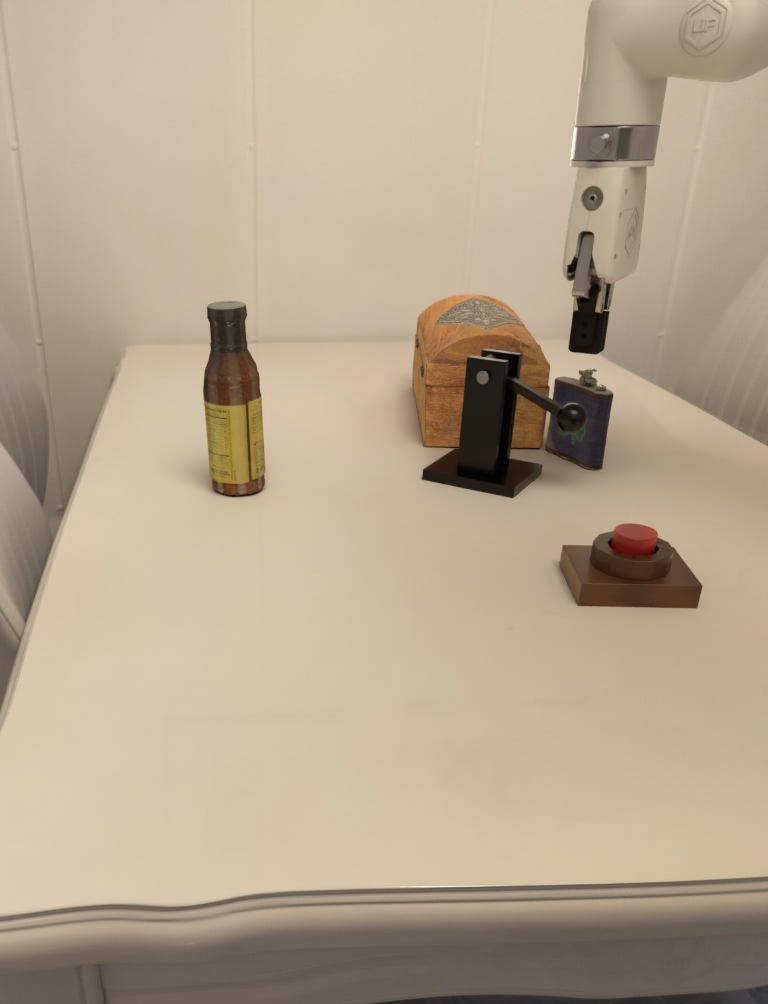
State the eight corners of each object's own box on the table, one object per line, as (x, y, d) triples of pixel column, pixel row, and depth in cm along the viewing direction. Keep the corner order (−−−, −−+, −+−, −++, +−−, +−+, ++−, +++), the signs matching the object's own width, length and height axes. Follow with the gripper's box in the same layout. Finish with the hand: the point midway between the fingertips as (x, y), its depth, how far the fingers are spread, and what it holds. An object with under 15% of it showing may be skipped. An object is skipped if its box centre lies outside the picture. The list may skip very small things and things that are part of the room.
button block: (668, 568, 85) (677, 528, 83) (697, 609, 78) (708, 566, 76) (559, 566, 85) (565, 526, 83) (577, 606, 78) (585, 563, 76)
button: (647, 541, 81) (651, 523, 80) (659, 558, 78) (663, 539, 77) (606, 540, 81) (609, 522, 80) (616, 558, 78) (620, 539, 77)
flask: (540, 448, 115) (552, 361, 109) (559, 445, 116) (572, 359, 110) (590, 471, 107) (605, 379, 102) (609, 468, 108) (626, 376, 103)
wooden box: (550, 450, 114) (566, 335, 107) (416, 447, 115) (424, 333, 108) (519, 388, 140) (531, 292, 133) (410, 386, 141) (417, 290, 134)
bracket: (541, 474, 107) (558, 353, 100) (513, 498, 100) (529, 370, 93) (454, 457, 112) (464, 341, 105) (421, 479, 105) (430, 356, 99)
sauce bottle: (250, 475, 107) (246, 295, 97) (275, 492, 102) (273, 305, 92) (199, 484, 104) (188, 301, 94) (222, 502, 99) (213, 311, 89)
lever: (581, 434, 99) (597, 409, 97) (572, 442, 97) (587, 416, 95) (481, 375, 103) (494, 349, 101) (470, 381, 100) (483, 355, 98)
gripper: (633, 151, 78) (600, 371, 87) (675, 146, 88) (642, 342, 97) (546, 151, 81) (524, 362, 90) (597, 146, 92) (572, 335, 101)
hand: (585, 351), depth 94 cm, fingers closed
